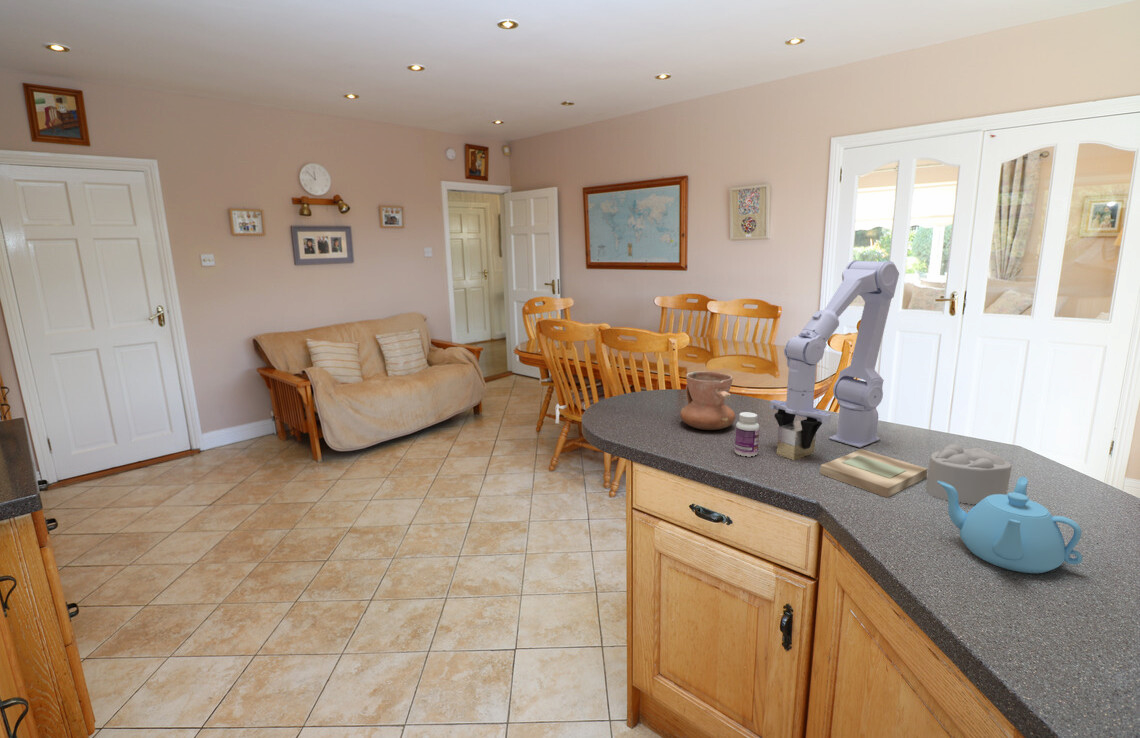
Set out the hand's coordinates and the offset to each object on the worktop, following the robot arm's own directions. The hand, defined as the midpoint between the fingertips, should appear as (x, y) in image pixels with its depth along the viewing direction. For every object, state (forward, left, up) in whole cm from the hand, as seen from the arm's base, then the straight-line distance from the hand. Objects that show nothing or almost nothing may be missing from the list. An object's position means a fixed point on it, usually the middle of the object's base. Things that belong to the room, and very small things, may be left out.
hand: (796, 444), depth 128 cm
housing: (0, 0, -2) cm, 2 cm away
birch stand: (-2, +17, -2) cm, 17 cm away
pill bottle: (+9, -7, -2) cm, 12 cm away
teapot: (+11, +44, -2) cm, 45 cm away
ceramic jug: (+1, -27, -2) cm, 27 cm away
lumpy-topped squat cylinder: (-8, +31, -2) cm, 32 cm away
